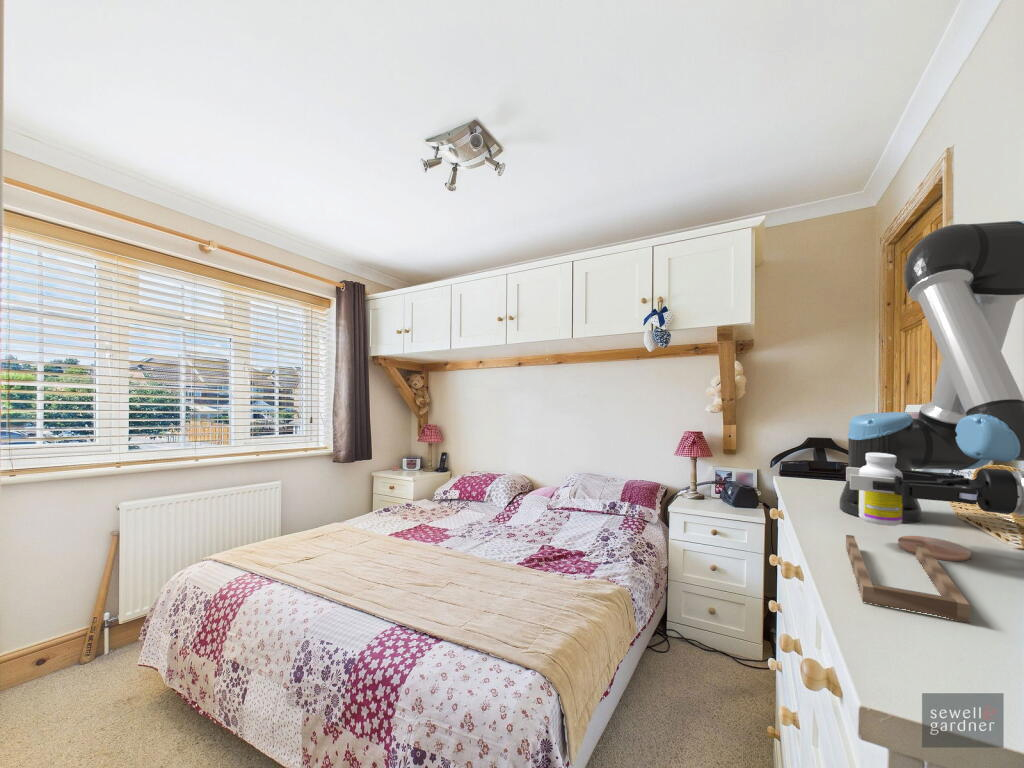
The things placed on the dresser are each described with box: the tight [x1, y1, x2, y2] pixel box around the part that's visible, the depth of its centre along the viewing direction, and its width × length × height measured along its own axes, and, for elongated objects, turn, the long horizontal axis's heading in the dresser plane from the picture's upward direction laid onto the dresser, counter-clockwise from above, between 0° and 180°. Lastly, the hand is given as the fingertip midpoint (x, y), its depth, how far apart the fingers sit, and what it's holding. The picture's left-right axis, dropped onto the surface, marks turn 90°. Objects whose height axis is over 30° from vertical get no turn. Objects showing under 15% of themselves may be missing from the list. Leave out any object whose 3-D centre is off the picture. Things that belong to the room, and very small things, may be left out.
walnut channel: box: [845, 534, 971, 624], centre depth 76 cm, size 25×11×2 cm, turn 149°
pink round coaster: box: [897, 535, 971, 562], centre depth 88 cm, size 10×10×1 cm
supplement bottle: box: [858, 453, 903, 527], centre depth 91 cm, size 7×7×13 cm
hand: (848, 477), depth 93 cm, fingers closed on supplement bottle, 7 cm apart
